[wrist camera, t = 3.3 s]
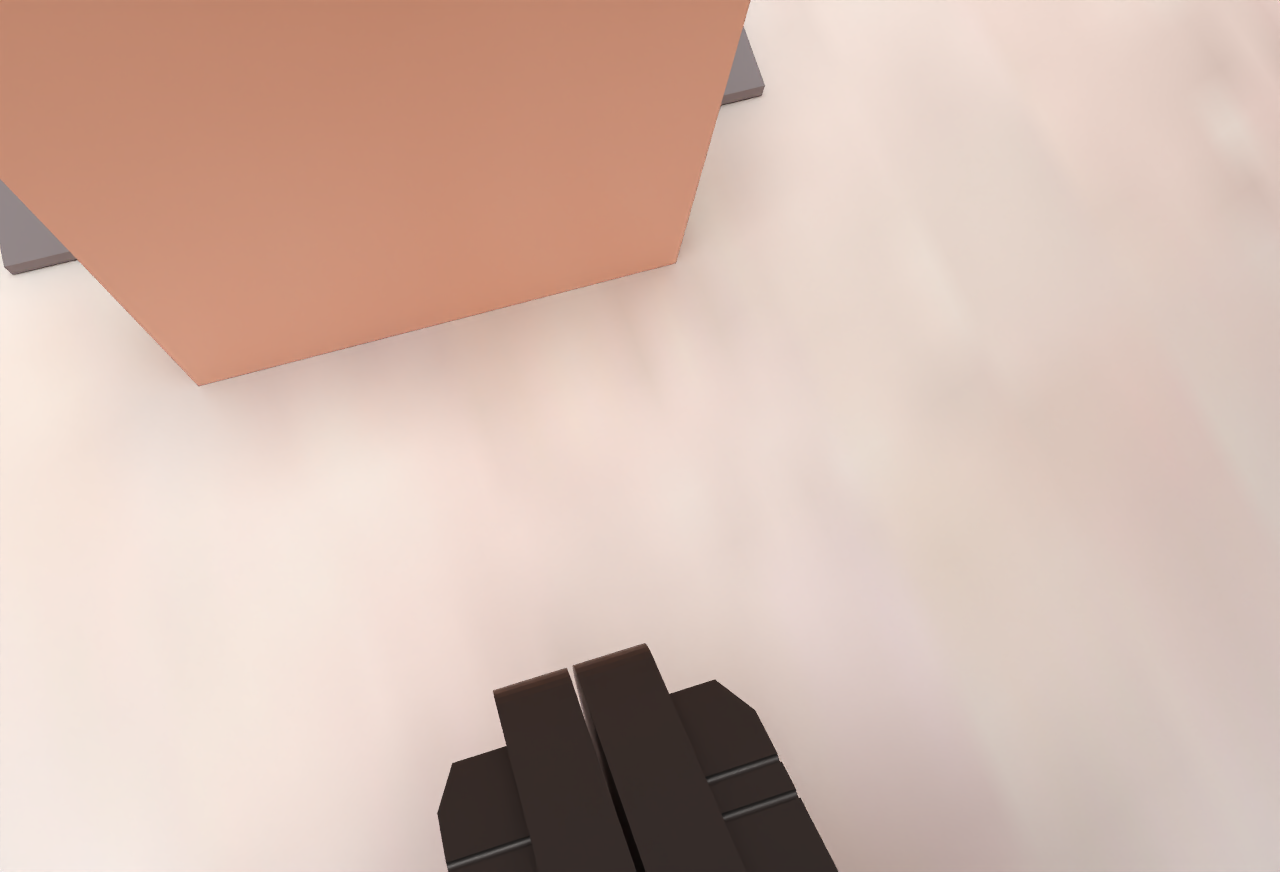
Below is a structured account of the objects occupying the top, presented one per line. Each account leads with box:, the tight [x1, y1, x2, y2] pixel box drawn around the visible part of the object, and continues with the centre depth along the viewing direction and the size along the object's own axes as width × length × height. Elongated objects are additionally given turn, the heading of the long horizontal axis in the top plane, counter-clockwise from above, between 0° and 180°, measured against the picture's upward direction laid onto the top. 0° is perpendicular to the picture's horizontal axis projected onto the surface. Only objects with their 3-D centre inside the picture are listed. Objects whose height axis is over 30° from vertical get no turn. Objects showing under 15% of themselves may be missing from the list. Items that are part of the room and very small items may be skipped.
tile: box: [0, 0, 750, 386], centre depth 19 cm, size 10×2×13 cm, turn 107°
